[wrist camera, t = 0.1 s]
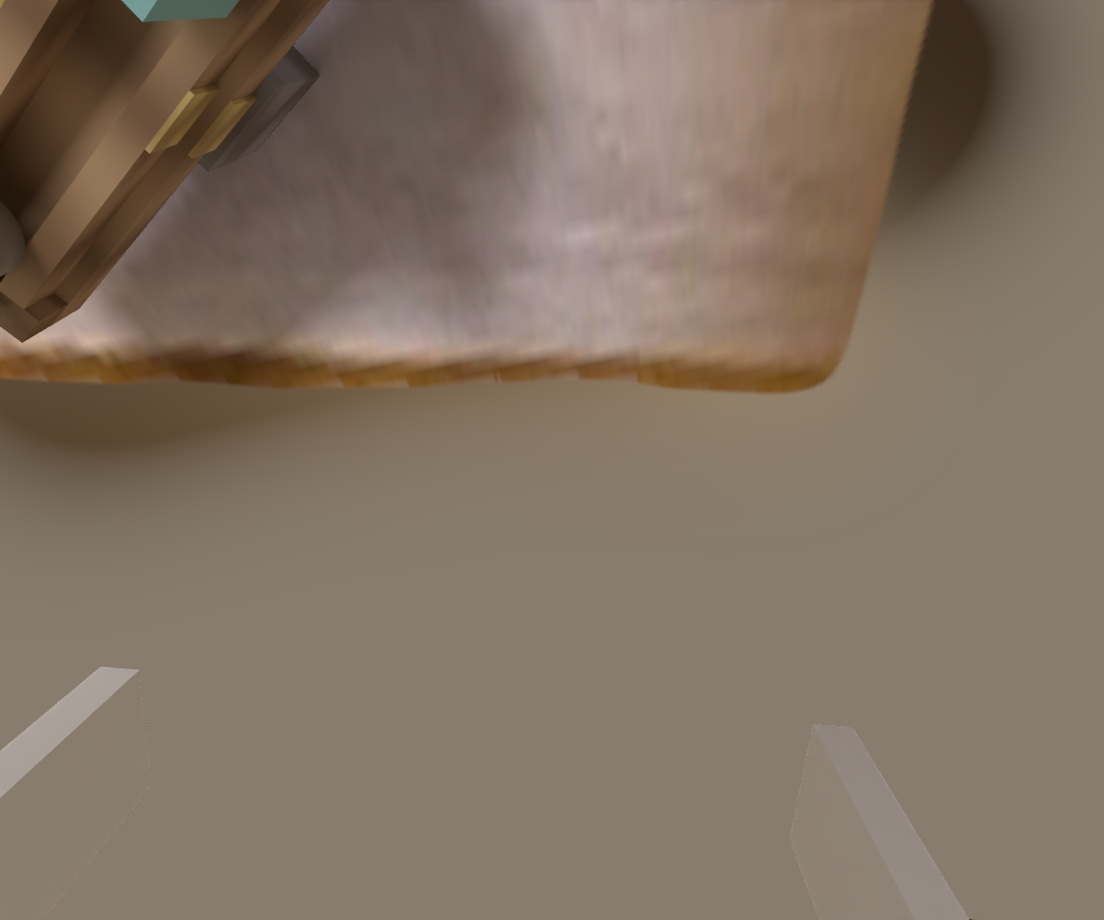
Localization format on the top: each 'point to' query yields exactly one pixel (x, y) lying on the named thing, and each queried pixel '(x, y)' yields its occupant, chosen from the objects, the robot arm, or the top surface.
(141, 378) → the top surface
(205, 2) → the block
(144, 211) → the beam
